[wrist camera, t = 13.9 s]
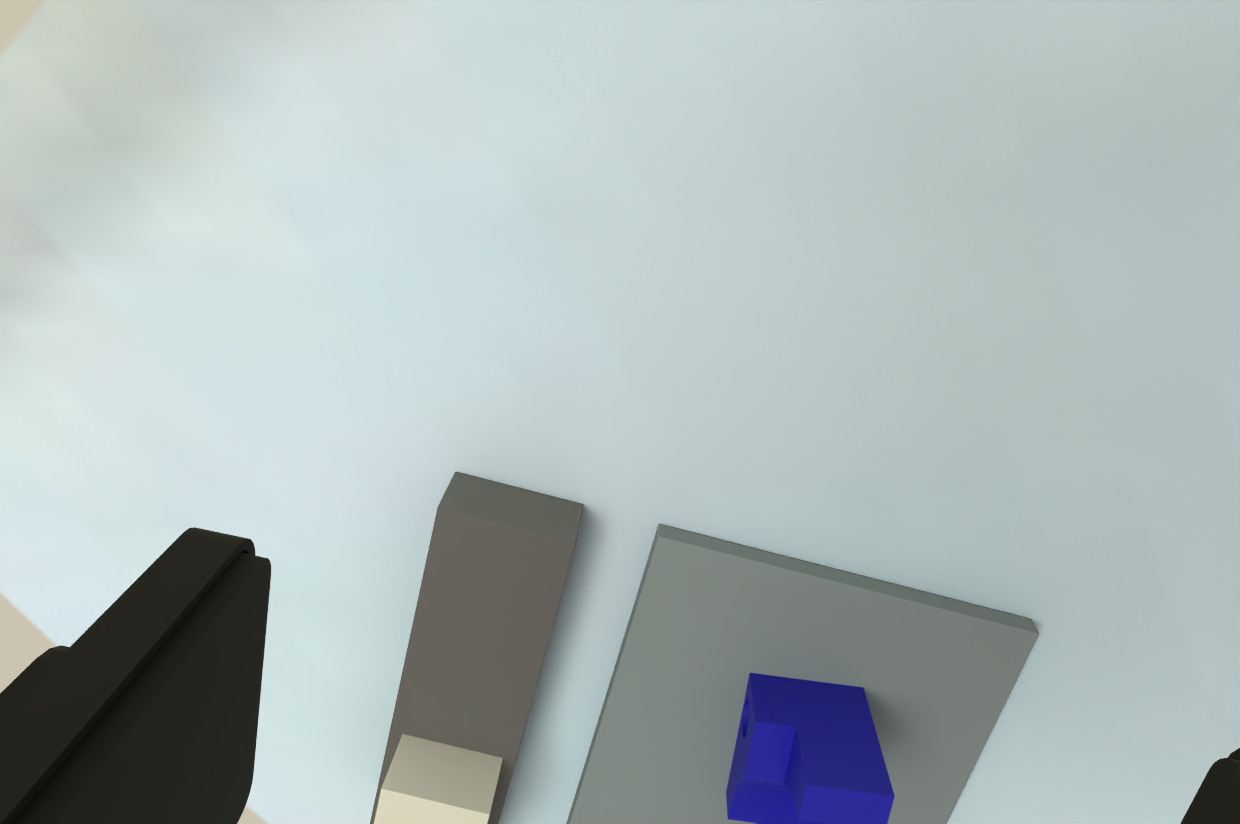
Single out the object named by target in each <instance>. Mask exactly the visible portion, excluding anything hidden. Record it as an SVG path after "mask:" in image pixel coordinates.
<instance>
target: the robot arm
mask: <svg viewBox="0 0 1240 824" xmlns="http://www.w3.org/2000/svg"><path fill="white" fill-rule="evenodd" d="M270 579H271V564H270V561H269V559H268V558H263V557H259V556H255V548H254V543H253V542H252V541H251V539H247V538H242V537H238V536H233V535H228V534H223V533H218V532H214V531H209V530H204V529H199V528H189V529H188V530H186V531H185V532H184V533H183V534H182V535H181V536H180V537H179V538H178V539H177V540H176V541H175V542H174V543H173V544H172V545H171V546H170V547H169V548H168V549H167V550H166V551H165V552H164V553H163V554H162V555H161V556H160V557H159V558H158V559H157V560H156V561H155V562H154V563H153V564H152V565H151V566H150V567H149V568H148V569H147V570H146V571H145V572H144V573H143V574H142V575H141V576H140V577H139V578H138V579H137V580H136V581H135V582H134V583H133V584H132V585H131V586H130V587H129V588H128V589H127V590H126V591H125V592H124V593H123V594H122V595H121V596H120V597H119V598H118V599H117V600H116V601H115V602H114V603H113V604H112V605H111V606H110V607H109V608H108V609H107V610H106V611H105V612H104V613H103V614H102V615H101V616H100V617H99V618H98V619H97V620H96V621H95V622H94V623H93V624H92V625H91V627H90V628H89V629H88V630H87V631H86V632H85V633H84V634H83V635H82V636H81V637H80V638H79V639H78V640H77V641H76V642H75V643H74V644H73V645H72V646H71V647H66V646H58V647H54V648H50V649H48V650H47V651H46V652H45V653H43V654H42V655H40V656H39V657H38V658H36V659H35V660H34V661H33V662H32V663H31V664H30V665H29V666H28V667H27V668H26V669H25V670H24V671H23V672H22V673H21V674H20V675H19V676H18V677H17V678H16V679H15V680H14V681H13V682H12V683H11V684H10V685H9V686H8V687H7V688H6V689H5V690H4V691H2V692H1V693H0V824H237V822H238V821H239V819H240V817H241V814H242V812H243V810H244V808H245V805H246V803H247V799H248V796H249V793H250V789H251V785H252V780H253V771H254V760H255V749H256V737H257V726H258V715H259V704H260V692H261V681H262V670H263V658H264V647H265V636H266V624H267V613H268V602H269V590H270ZM1181 824H1240V748H1239V749H1237V750H1236V751H1234V752H1233V753H1231V754H1230V756H1229V757H1228V758H1223V759H1219V760H1218V761H1216V762H1215V763H1214V764H1213V765H1212V767H1211V768H1210V769H1209V771H1208V773H1207V775H1206V777H1205V779H1204V781H1203V782H1202V784H1201V786H1200V788H1199V790H1198V792H1197V794H1196V796H1195V797H1194V799H1193V801H1192V803H1191V805H1190V807H1189V809H1188V811H1187V813H1186V814H1185V816H1184V818H1183V820H1182V822H1181Z"/></svg>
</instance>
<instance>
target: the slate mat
mask: <svg viewBox="0 0 1240 824" xmlns="http://www.w3.org/2000/svg"><path fill="white" fill-rule="evenodd" d="M1038 636H1039V632H1038V630H1037V629H1036V627H1035V626H1034V624H1033V622H1032V621H1031V619H1028V618H1024V617H1020V616H1016V615H1012V614H1008V613H1004V612H1000V611H997V610H993V609H989V608H985V607H981V606H977V605H973V604H969V603H965V602H961V601H958V600H954V599H950V598H946V597H942V596H938V595H934V594H930V593H926V592H922V591H918V590H915V589H911V588H907V587H903V586H899V585H895V584H891V583H887V582H883V581H879V580H876V579H872V578H868V577H864V576H860V575H856V574H852V573H848V572H844V571H840V570H837V569H833V568H829V567H825V566H821V565H817V564H813V563H809V562H805V561H801V560H798V559H794V558H790V557H786V556H782V555H778V554H774V553H770V552H766V551H762V550H759V549H755V548H751V547H747V546H743V545H739V544H735V543H731V542H727V541H723V540H720V539H716V538H712V537H708V536H704V535H700V534H696V533H692V532H688V531H684V530H681V529H677V528H673V527H669V526H665V525H661V524H659V525H658V529H657V532H656V535H655V538H654V542H653V545H652V548H651V551H650V555H649V558H648V561H647V564H646V568H645V571H644V574H643V577H642V581H641V584H640V587H639V590H638V593H637V597H636V600H635V603H634V606H633V610H632V613H631V616H630V619H629V623H628V626H627V629H626V632H625V636H624V639H623V642H622V645H621V649H620V652H619V655H618V658H617V662H616V665H615V668H614V671H613V675H612V678H611V681H610V684H609V688H608V691H607V694H606V697H605V701H604V704H603V707H602V710H601V714H600V717H599V720H598V723H597V727H596V730H595V733H594V736H593V740H592V743H591V746H590V749H589V753H588V756H587V759H586V762H585V766H584V769H583V772H582V775H581V779H580V782H579V785H578V788H577V792H576V795H575V798H574V801H573V805H572V808H571V811H570V814H569V818H568V821H567V824H756V823H752V822H745V821H737V820H729V819H728V816H727V801H726V790H727V785H728V780H729V775H730V770H731V765H732V760H733V755H734V750H735V745H736V740H737V735H738V730H739V724H740V719H741V714H742V709H743V704H744V699H745V694H746V689H747V684H748V679H749V674H750V673H756V674H764V675H772V676H779V677H787V678H795V679H802V680H810V681H818V682H825V683H833V684H841V685H848V686H856V687H863V688H864V691H865V695H866V698H867V701H868V705H869V708H870V712H871V715H872V719H873V722H874V726H875V729H876V733H877V736H878V740H879V743H880V747H881V750H882V754H883V757H884V761H885V764H886V768H887V771H888V775H889V778H890V782H891V785H892V789H893V792H894V796H895V797H894V801H893V805H892V808H891V812H890V815H889V819H888V823H887V824H947V822H948V820H949V818H950V816H951V814H952V812H953V810H954V807H955V805H956V803H957V801H958V799H959V797H960V795H961V793H962V791H963V789H964V787H965V785H966V783H967V781H968V779H969V777H970V775H971V773H972V771H973V769H974V767H975V765H976V763H977V760H978V758H979V756H980V754H981V752H982V750H983V748H984V746H985V744H986V742H987V740H988V738H989V736H990V734H991V732H992V730H993V728H994V726H995V724H996V722H997V720H998V718H999V715H1000V713H1001V711H1002V709H1003V707H1004V705H1005V703H1006V701H1007V699H1008V697H1009V695H1010V693H1011V691H1012V689H1013V687H1014V685H1015V683H1016V681H1017V679H1018V677H1019V675H1020V673H1021V670H1022V668H1023V666H1024V664H1025V662H1026V660H1027V658H1028V656H1029V654H1030V652H1031V650H1032V648H1033V646H1034V644H1035V642H1036V640H1037V638H1038Z"/></svg>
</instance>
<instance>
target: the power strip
mask: <svg viewBox="0 0 1240 824" xmlns="http://www.w3.org/2000/svg"><path fill="white" fill-rule="evenodd" d="M582 507H583V504H579V503H575V502H571V501H567V500H564V499H560V498H556V497H552V496H548V495H544V494H540V493H536V492H532V491H528V490H525V489H521V488H517V487H513V486H509V485H505V484H501V483H497V482H493V481H489V480H486V479H482V478H478V477H474V476H470V475H466V474H462V473H458V472H455V474H454V476H453V478H452V480H451V482H450V484H449V486H448V488H447V490H446V492H445V494H444V496H443V498H442V500H441V502H440V504H439V506H438V509H437V513H436V518H435V523H434V527H433V532H432V537H431V541H430V546H429V551H428V555H427V560H426V565H425V569H424V574H423V579H422V583H421V588H420V593H419V597H418V602H417V607H416V611H415V616H414V621H413V625H412V630H411V635H410V639H409V644H408V649H407V653H406V658H405V663H404V667H403V672H402V677H401V681H400V686H399V691H398V695H397V700H396V705H395V709H394V714H393V719H392V723H391V728H390V733H389V737H388V742H387V747H386V751H385V756H384V761H383V765H382V770H381V775H380V779H379V784H378V789H377V793H376V798H375V803H374V807H373V812H372V817H371V821H370V824H498V823H499V819H500V815H501V812H502V808H503V804H504V801H505V797H506V794H507V790H508V786H509V783H510V779H511V775H512V772H513V768H514V765H515V761H516V757H517V754H518V750H519V746H520V743H521V739H522V735H523V732H524V728H525V725H526V721H527V717H528V714H529V710H530V706H531V703H532V699H533V696H534V692H535V688H536V685H537V681H538V677H539V674H540V670H541V666H542V663H543V659H544V656H545V652H546V648H547V645H548V641H549V637H550V634H551V630H552V627H553V623H554V619H555V616H556V612H557V608H558V605H559V601H560V597H561V594H562V590H563V587H564V583H565V579H566V576H567V572H568V568H569V565H570V561H571V558H572V554H573V550H574V547H575V543H576V538H577V533H578V528H579V523H580V518H581V512H582Z"/></svg>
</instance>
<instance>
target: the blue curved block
mask: <svg viewBox="0 0 1240 824" xmlns="http://www.w3.org/2000/svg"><path fill="white" fill-rule="evenodd" d="M894 797H895V796H894V792H893V789H892V785H891V782H890V778H889V775H888V771H887V768H886V764H885V761H884V757H883V754H882V750H881V747H880V743H879V740H878V736H877V733H876V729H875V726H874V722H873V719H872V715H871V712H870V708H869V705H868V701H867V698H866V695H865V691H864V688H863V687H856V686H848V685H841V684H833V683H825V682H818V681H810V680H802V679H795V678H787V677H779V676H772V675H764V674H756V673H750V674H749V679H748V684H747V689H746V694H745V699H744V704H743V709H742V714H741V719H740V724H739V730H738V735H737V740H736V745H735V750H734V755H733V760H732V765H731V770H730V775H729V780H728V785H727V790H726V801H727V816H728V819H729V820H737V821H745V822H752V823H756V824H887V823H888V819H889V815H890V812H891V808H892V805H893V801H894Z"/></svg>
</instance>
